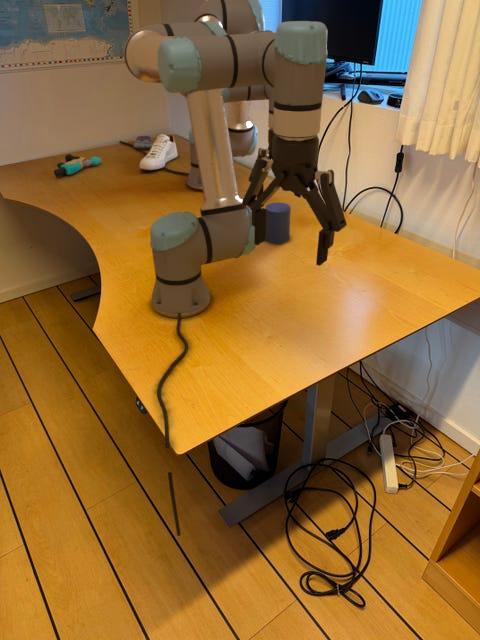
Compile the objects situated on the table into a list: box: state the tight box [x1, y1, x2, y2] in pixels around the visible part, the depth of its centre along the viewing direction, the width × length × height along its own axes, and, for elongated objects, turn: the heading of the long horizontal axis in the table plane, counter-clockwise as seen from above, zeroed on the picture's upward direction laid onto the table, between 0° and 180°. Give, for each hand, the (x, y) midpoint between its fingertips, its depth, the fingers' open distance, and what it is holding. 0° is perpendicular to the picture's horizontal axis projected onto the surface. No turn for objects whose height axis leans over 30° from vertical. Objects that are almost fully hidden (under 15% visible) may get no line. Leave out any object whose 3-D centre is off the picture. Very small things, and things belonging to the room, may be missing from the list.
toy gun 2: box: [132, 135, 155, 151], centre depth 238 cm, size 4×19×15 cm
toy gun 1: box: [53, 153, 102, 178], centre depth 211 cm, size 4×26×15 cm
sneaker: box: [139, 133, 179, 171], centre depth 214 cm, size 10×29×12 cm, turn 163°
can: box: [265, 202, 292, 245], centre depth 152 cm, size 8×8×11 cm
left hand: (289, 252), depth 89 cm, fingers open, 13 cm apart
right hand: (279, 200), depth 147 cm, fingers open, 13 cm apart
